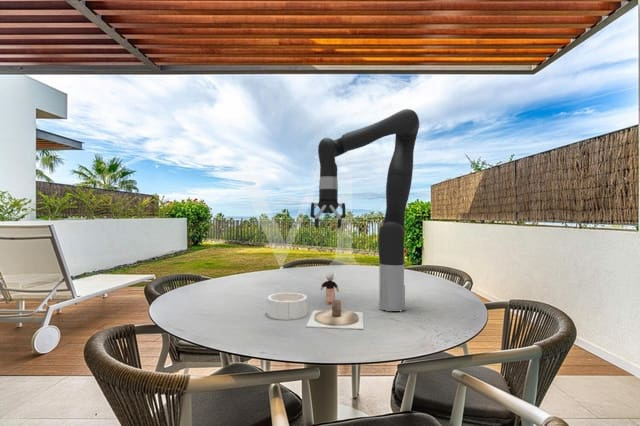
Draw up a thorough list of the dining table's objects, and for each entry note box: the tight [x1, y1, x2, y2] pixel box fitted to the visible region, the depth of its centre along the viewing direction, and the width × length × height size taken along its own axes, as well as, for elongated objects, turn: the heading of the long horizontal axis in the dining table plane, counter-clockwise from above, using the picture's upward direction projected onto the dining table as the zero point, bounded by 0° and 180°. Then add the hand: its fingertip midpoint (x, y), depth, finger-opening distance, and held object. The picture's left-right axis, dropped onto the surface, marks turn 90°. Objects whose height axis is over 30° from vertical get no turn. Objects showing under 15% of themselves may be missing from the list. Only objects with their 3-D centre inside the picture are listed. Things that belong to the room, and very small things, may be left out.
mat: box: [305, 310, 364, 330], centre depth 116 cm, size 18×18×1 cm
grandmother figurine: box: [319, 271, 340, 305], centre depth 138 cm, size 8×4×13 cm, turn 84°
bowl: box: [266, 292, 308, 321], centre depth 123 cm, size 14×14×6 cm
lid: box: [314, 299, 359, 326], centre depth 116 cm, size 15×15×6 cm
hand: (327, 228), depth 139 cm, fingers open, 8 cm apart
